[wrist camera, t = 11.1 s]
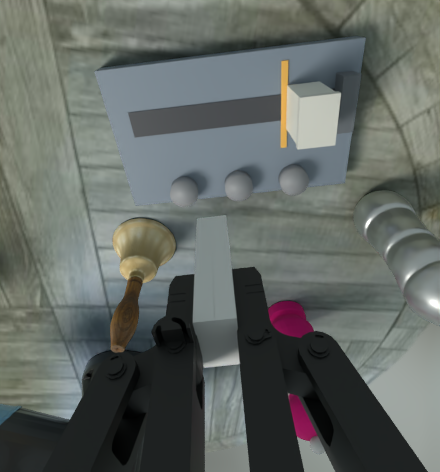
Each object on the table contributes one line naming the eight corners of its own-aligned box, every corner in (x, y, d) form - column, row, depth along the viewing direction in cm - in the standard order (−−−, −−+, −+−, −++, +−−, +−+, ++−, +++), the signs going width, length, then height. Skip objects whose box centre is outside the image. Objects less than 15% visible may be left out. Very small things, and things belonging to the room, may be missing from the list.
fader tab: (285, 129, 31) (297, 149, 27) (285, 84, 29) (300, 97, 24) (317, 126, 31) (335, 145, 27) (320, 80, 29) (341, 92, 24)
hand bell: (182, 261, 44) (172, 366, 31) (126, 270, 45) (93, 377, 32) (166, 212, 39) (146, 312, 26) (103, 223, 40) (53, 326, 27)
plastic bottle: (382, 173, 37) (518, 301, 21) (410, 205, 40) (548, 340, 24) (337, 208, 40) (426, 345, 24) (366, 236, 43) (463, 376, 26)
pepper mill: (275, 293, 49) (309, 436, 32) (315, 304, 50) (366, 444, 34) (255, 322, 52) (276, 462, 36) (292, 331, 54) (329, 468, 38)
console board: (138, 197, 38) (132, 215, 35) (100, 67, 30) (87, 75, 26) (338, 175, 37) (351, 191, 34) (356, 35, 29) (375, 39, 26)
